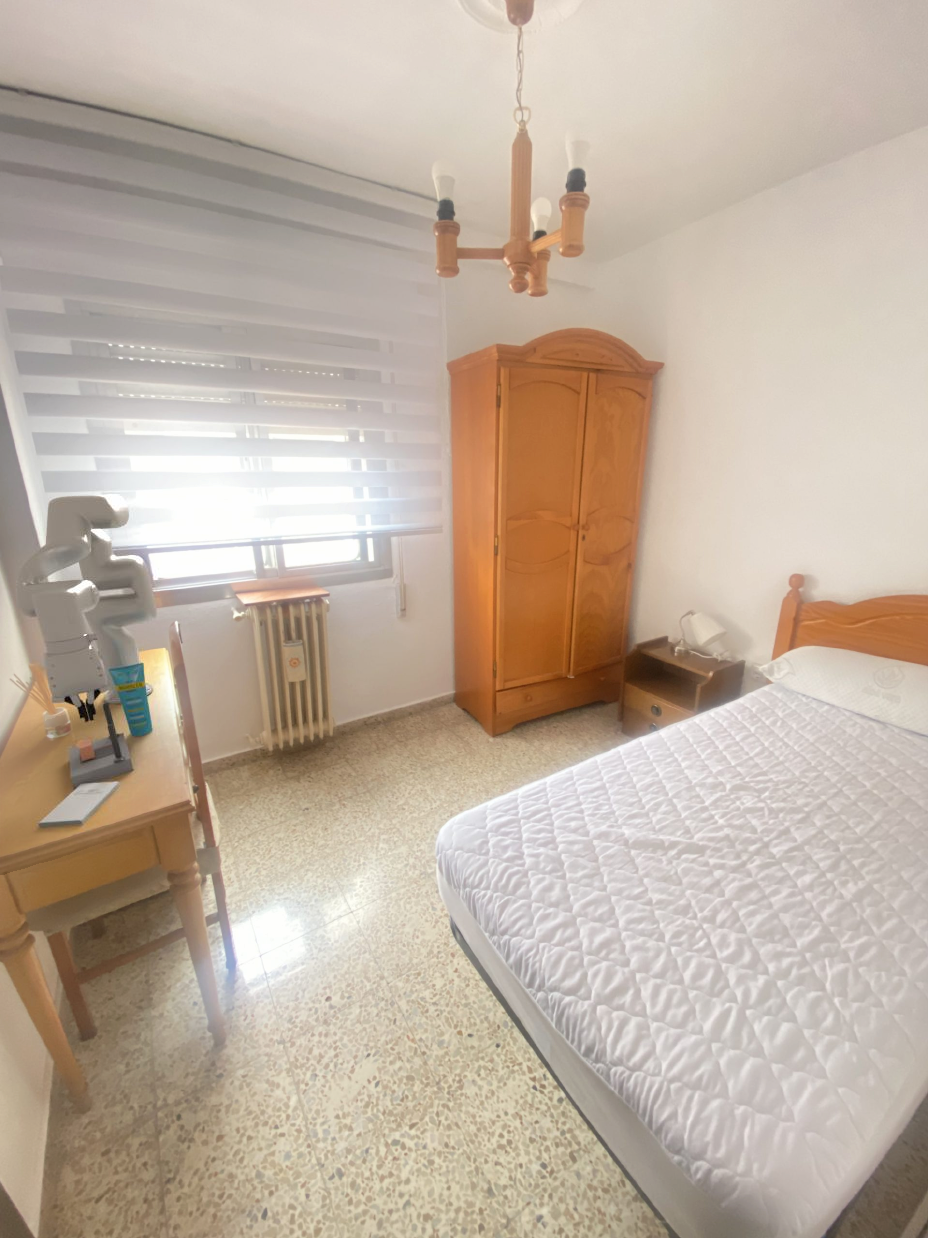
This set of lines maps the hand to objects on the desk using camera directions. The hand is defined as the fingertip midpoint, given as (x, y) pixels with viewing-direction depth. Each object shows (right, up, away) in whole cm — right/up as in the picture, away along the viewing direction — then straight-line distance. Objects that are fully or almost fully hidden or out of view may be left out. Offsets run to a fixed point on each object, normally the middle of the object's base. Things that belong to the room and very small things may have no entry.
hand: (89, 719), depth 113 cm
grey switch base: (0, -12, +4) cm, 12 cm away
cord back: (-1, -6, +10) cm, 12 cm away
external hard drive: (+6, -17, -10) cm, 20 cm away
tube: (+1, -7, +18) cm, 19 cm away
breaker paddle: (-1, -9, +2) cm, 9 cm away
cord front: (+7, -9, 0) cm, 12 cm away
